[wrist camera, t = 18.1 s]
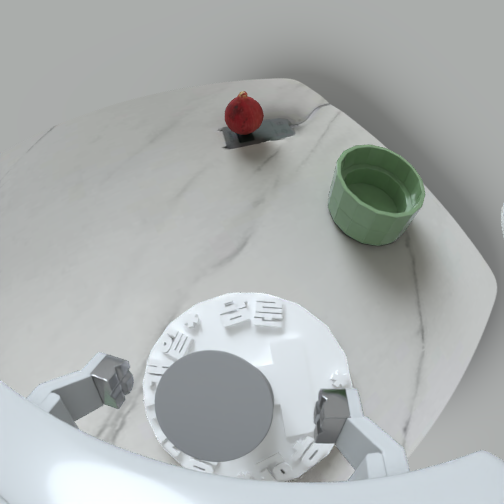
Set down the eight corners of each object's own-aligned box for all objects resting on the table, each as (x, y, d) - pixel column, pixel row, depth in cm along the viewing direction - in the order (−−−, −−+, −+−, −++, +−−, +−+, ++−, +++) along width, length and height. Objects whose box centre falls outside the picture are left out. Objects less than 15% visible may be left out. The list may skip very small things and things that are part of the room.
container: (282, 388, 22) (303, 395, 9) (249, 428, 20) (224, 486, 7) (239, 359, 24) (201, 322, 10) (207, 397, 22) (129, 408, 9)
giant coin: (323, 491, 19) (328, 501, 16) (137, 450, 22) (124, 455, 19) (355, 313, 28) (364, 305, 25) (178, 283, 30) (170, 273, 28)
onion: (248, 149, 40) (244, 106, 33) (220, 137, 42) (212, 96, 35) (270, 131, 42) (270, 89, 35) (243, 120, 44) (239, 80, 36)
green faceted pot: (400, 187, 35) (416, 156, 30) (408, 253, 30) (431, 225, 25) (329, 172, 37) (336, 137, 31) (325, 239, 32) (335, 206, 26)
